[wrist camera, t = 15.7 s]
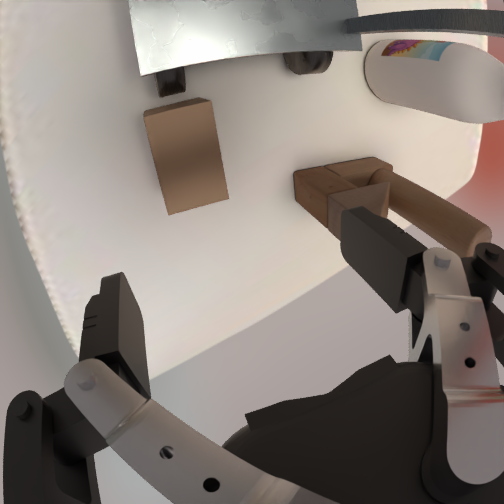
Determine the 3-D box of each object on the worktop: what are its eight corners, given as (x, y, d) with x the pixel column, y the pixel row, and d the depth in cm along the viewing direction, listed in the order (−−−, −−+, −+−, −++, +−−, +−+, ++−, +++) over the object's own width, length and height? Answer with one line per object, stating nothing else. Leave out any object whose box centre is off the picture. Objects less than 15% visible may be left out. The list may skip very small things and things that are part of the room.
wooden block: (292, 170, 32) (410, 258, 18) (374, 155, 34) (498, 221, 20) (294, 202, 34) (401, 303, 20) (373, 184, 36) (488, 258, 22)
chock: (144, 111, 25) (143, 117, 20) (198, 97, 26) (211, 100, 21) (164, 191, 29) (168, 215, 25) (214, 177, 30) (229, 198, 25)
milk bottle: (408, 106, 32) (553, 158, 16) (359, 98, 30) (524, 148, 14) (413, 48, 28) (562, 74, 12) (363, 33, 26) (533, 41, 10)
